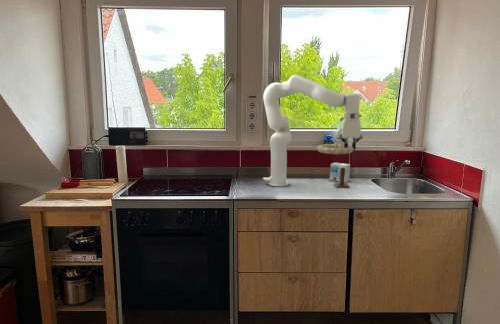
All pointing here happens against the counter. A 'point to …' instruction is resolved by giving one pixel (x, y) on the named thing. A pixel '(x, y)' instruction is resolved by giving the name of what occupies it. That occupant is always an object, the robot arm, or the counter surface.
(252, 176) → the counter surface
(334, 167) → the light bulb box
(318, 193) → the counter surface
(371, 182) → the counter surface
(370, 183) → the counter surface
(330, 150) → the woven wreath ring
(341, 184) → the brown peg stand
